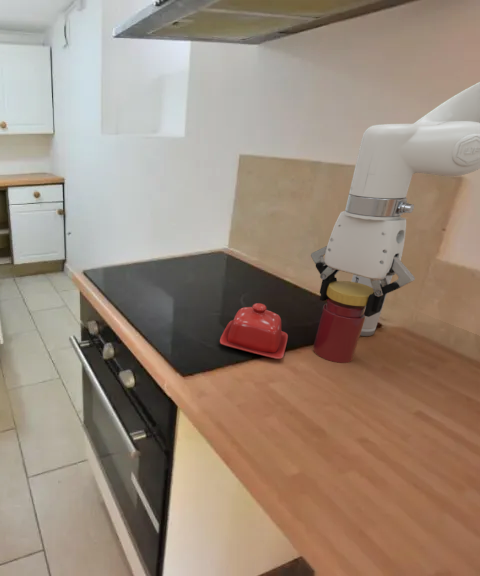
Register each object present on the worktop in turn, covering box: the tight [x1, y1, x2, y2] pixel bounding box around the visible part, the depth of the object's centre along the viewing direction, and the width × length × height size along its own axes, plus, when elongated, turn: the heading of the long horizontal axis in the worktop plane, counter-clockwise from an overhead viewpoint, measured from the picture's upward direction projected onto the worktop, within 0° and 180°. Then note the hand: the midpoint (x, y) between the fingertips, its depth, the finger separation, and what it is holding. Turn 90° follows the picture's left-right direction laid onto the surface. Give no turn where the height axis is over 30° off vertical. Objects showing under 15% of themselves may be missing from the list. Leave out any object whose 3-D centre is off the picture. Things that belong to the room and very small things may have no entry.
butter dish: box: [219, 302, 289, 360], centre depth 73 cm, size 12×12×8 cm
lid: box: [327, 280, 374, 306], centre depth 67 cm, size 7×7×2 cm
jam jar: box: [312, 298, 366, 364], centre depth 70 cm, size 7×7×11 cm
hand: (347, 305), depth 68 cm, fingers closed on lid, 7 cm apart
